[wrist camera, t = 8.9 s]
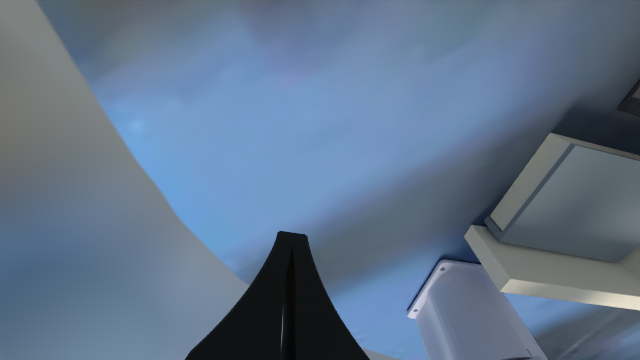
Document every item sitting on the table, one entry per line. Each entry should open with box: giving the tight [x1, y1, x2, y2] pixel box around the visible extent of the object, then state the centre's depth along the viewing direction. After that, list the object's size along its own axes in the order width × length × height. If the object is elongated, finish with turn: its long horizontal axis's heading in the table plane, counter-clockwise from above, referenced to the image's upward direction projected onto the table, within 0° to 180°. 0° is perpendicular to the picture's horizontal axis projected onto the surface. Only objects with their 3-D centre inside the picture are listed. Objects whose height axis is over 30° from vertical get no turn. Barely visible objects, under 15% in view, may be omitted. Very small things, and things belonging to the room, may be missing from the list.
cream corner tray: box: [464, 225, 640, 310], centre depth 21 cm, size 14×15×6 cm
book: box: [484, 133, 640, 263], centre depth 23 cm, size 9×12×3 cm
